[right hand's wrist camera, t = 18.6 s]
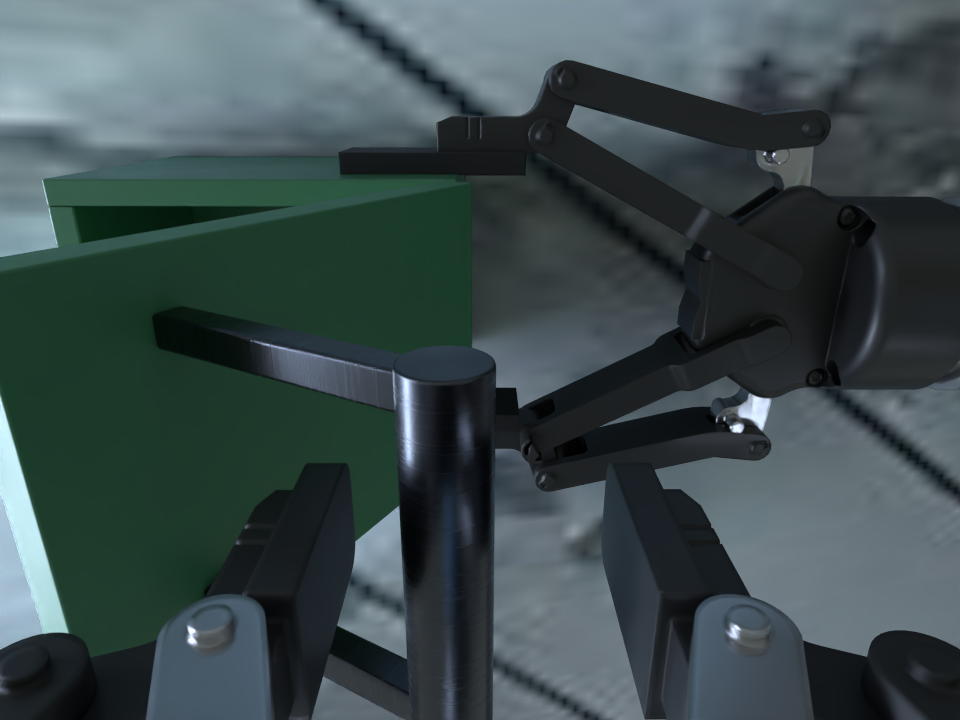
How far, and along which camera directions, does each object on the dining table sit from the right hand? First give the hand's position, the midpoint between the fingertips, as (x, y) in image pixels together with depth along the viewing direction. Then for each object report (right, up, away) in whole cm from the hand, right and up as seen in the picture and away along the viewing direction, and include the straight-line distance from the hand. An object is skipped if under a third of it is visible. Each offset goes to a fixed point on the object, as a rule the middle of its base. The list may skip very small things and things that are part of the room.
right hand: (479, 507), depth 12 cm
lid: (-5, +2, +5) cm, 7 cm away
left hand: (-5, +5, +14) cm, 16 cm away
